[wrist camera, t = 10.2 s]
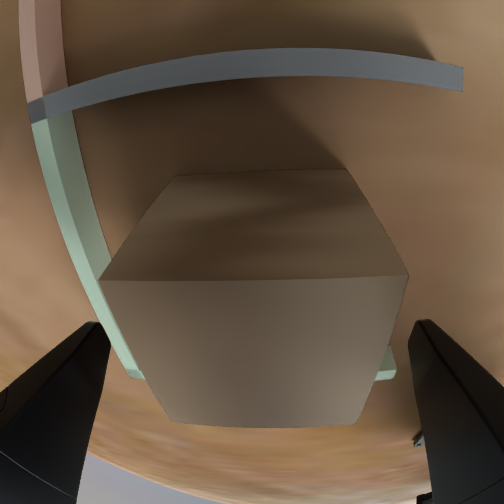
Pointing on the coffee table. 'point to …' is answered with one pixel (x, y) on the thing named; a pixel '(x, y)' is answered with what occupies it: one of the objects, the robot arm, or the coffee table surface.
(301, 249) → the walnut block
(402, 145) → the coffee table surface
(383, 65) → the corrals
